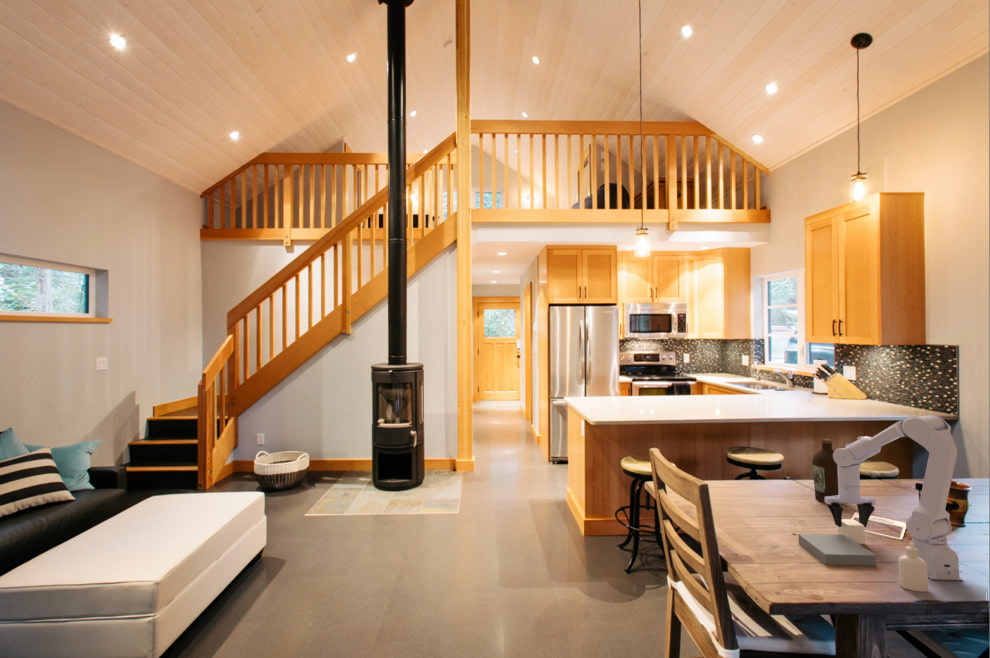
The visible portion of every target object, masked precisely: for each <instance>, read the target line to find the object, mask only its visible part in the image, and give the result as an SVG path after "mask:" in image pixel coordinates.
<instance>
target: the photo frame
mask: <svg viewBox="0 0 990 658" xmlns="http://www.w3.org/2000/svg"><path fill="white" fill-rule="evenodd" d="M850 519H854V520H855V519H858V520H859V512H854V514H853V515H852V517H851V518H850ZM868 522H871V523H872V522H873V523H876V524H880V525H886V526H890V527H895V528H899V527H900V529H902V530H901V533H900V536H899V537H896V536H892V535H886V534H883V533H879V532H874V531H870V530H867V529H866V530H865V529H864V530H865V533H866V534H871V535H875V536H880V537H882V538H883V537H884V538H888V539H893V540H896V541H900V540H901V541H903V540H904V536H905V534H906V531H905V530H907V528H906V521H905V522H904V521H899V520H894V519H890V518H885V517H880V516H875V515H872V514H871V515H870V517H869V520H868ZM904 533H905V534H904ZM901 541H900V542H901Z"/></svg>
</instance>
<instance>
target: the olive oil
mask: <svg viewBox="0 0 990 658" xmlns="http://www.w3.org/2000/svg"><path fill="white" fill-rule="evenodd" d="M834 451H835V450H834V449H833V443H832V439H829V438H822V439H821V449H819V451H817V452H816V453H814V455H813V456H812V459H811V465H812V466H811V467H812V474H813V475H812V476H813V484H814V485H813V486H814V487H813V489H814V497H815V500H816V501H818V502H820V503H823V504H826V503H825V500H824V497H828V496H836V495H839V491H838V466H837V463H836V462H835V461H834V459H833V453H834ZM839 505H840V506H841V505H842V504H839Z"/></svg>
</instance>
